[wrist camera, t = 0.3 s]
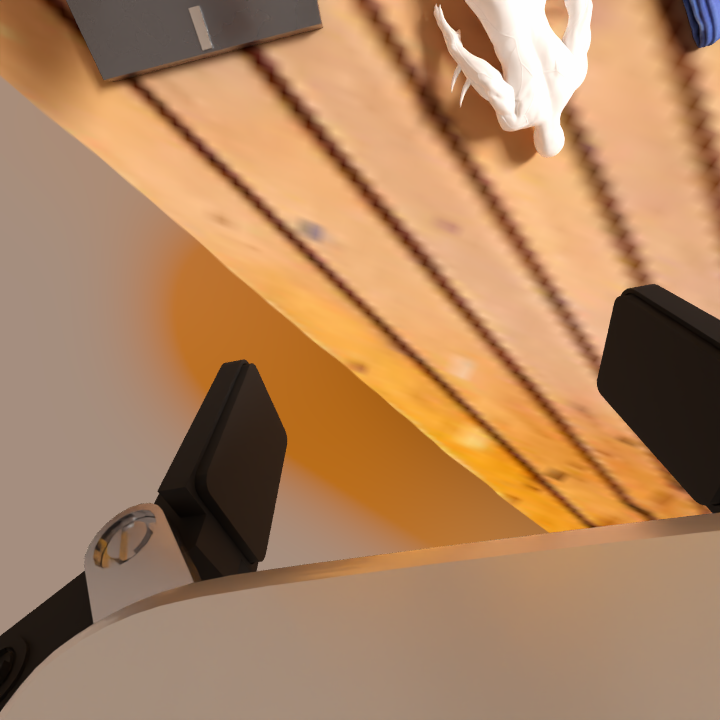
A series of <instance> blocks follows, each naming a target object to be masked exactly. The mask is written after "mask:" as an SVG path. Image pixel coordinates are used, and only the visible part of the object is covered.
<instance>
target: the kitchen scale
mask: <svg viewBox="0 0 720 720" xmlns="http://www.w3.org/2000/svg"><path fill="white" fill-rule="evenodd" d="M66 1H67V3H68V5H69V8H70V10H71V12H72V14H73V16H74V18H75V20H76V22H77V25H78V27H79V29H80V31H81V33H82V35H83V37H84V39H85V41H86V44H87V46H88V48H89V50H90V52H91V54H92V56H93V58H94V61H95V63H96V65H97V67H98V69H99V71H100V73H101V75H102V78H103V80H106V81H113V82H114V81H118V80H122V79H126V78H130V77H134V76H137V75H141V74H145V73H149V72H153V71H157V70H161V69H164V68H168V67H172V66H176V65H180V64H184V63H188V62H192V61H195V60H199V59H203V58H207V57H211V56H215V55H219V54H222V53H226V52H230V51H234V50H238V49H242V48H246V47H249V46H253V45H257V44H261V43H265V42H269V41H273V40H277V39H280V38H284V37H288V36H292V35H296V34H300V33H304V32H307V31H311V30H315V29H319V28H323V27H322V21H321V16H320V10H319V5H318V0H66Z"/></svg>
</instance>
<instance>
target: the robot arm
mask: <svg viewBox="0 0 720 720" xmlns="http://www.w3.org/2000/svg"><path fill="white" fill-rule="evenodd" d="M597 387H598V390H599V392H600V394H601V395H602V396H603V397H604V399H605V400H606V401H607V402H608V403H609V404H610V405H611V407H612V408H613V409H614V410H615V411H616V412H617V413H618V414H619V416H620V417H621V418H622V419H623V420H624V421H625V422H626V423H627V425H628V426H629V427H630V428H631V429H632V430H633V431H634V433H635V434H636V435H637V436H638V437H639V438H640V439H641V440H642V442H643V443H644V444H645V445H646V446H647V447H648V448H649V449H650V451H651V452H652V453H653V454H654V455H655V456H656V457H657V459H658V460H659V461H660V462H661V463H662V464H663V465H664V466H665V468H666V469H667V470H668V471H669V472H670V473H671V474H672V475H673V477H674V478H675V479H676V480H677V481H678V482H679V483H680V485H681V486H682V487H683V488H684V489H685V490H686V491H687V492H688V494H689V495H690V496H691V497H692V498H693V499H694V500H695V501H696V502H698V503H699V504H701V505H706V506H707V507H708V509H709V510H710V511H711V512H712V514H703V515H695V516H687V517H678V518H670V519H662V520H653V521H645V522H636V523H628V524H620V525H611V526H603V527H595V528H587V529H579V530H571V531H563V532H555V533H546V534H539V535H530V536H522V537H515V538H507V539H498V540H490V541H482V542H474V543H466V544H458V545H451V546H442V547H434V548H427V549H419V550H411V551H404V552H396V553H389V554H380V555H373V556H365V557H357V558H350V559H343V560H335V561H327V562H319V563H312V564H304V565H297V566H291V567H284V568H278V569H270V570H263V571H257V566H258V562H261V561H263V560H264V558H265V555H266V550H267V545H268V539H269V535H270V530H271V524H272V519H273V514H274V509H275V503H276V498H277V493H278V488H279V483H280V477H281V473H282V467H283V462H284V457H285V452H286V447H287V435H286V432H285V429H284V427H283V425H282V423H281V421H280V418H279V416H278V414H277V412H276V409H275V407H274V405H273V403H272V401H271V398H270V396H269V394H268V392H267V390H266V387H265V385H264V383H263V381H262V379H261V377H260V374H259V372H258V370H257V368H256V366H255V365H254V364H252V363H251V364H249V363H248V362H247V361H246V360H239V361H233V362H228V363H224V364H223V365H222V366H221V368H220V370H219V372H218V374H217V376H216V378H215V380H214V382H213V384H212V385H211V387H210V389H209V392H208V393H207V395H206V397H205V399H204V401H203V403H202V405H201V407H200V409H199V411H198V413H197V415H196V417H195V419H194V421H193V423H192V425H191V427H190V429H189V430H188V433H187V434H186V436H185V438H184V440H183V442H182V444H181V446H180V448H179V450H178V452H177V454H176V456H175V458H174V460H173V462H172V464H171V466H170V468H169V470H168V472H167V474H166V476H165V478H164V479H163V481H162V483H161V485H160V487H159V489H158V492H159V495H158V497H157V499H156V501H155V503H154V504H152V503H143V504H138V505H136V506H132V507H130V508H128V509H126V510H124V511H122V512H121V513H119V514H118V515H116V516H115V517H114V518H112V519H111V520H110V521H109V522H107V523H106V524H105V525H104V526H103V528H102V529H101V530H100V531H99V532H98V533H97V534H96V536H95V537H94V539H93V540H92V542H91V543H90V545H89V547H88V549H87V552H86V554H85V561H84V568H85V571H84V572H82V573H81V574H80V575H79V576H77V577H76V578H75V579H73V580H72V581H71V582H70V583H68V584H67V585H66V586H64V587H63V588H62V589H60V590H59V591H58V592H57V593H55V594H54V595H53V596H52V597H50V598H49V599H47V600H46V601H45V602H44V603H42V604H41V605H40V606H39V607H37V608H36V609H35V610H33V611H32V612H31V613H29V614H28V615H27V616H25V617H24V618H23V619H22V620H20V621H19V622H18V623H16V624H15V625H14V626H13V627H11V628H10V629H9V630H7V631H6V632H5V633H3V634H2V635H1V636H0V720H720V320H719V319H717V318H715V317H713V316H712V315H710V314H708V313H706V312H705V311H703V310H701V309H699V308H698V307H696V306H694V305H692V304H690V303H689V302H687V301H685V300H683V299H682V298H680V297H678V296H676V295H674V294H673V293H671V292H669V291H667V290H666V289H664V288H662V287H660V286H658V285H655V284H651V285H645V286H640V287H634V288H629V289H626V290H625V291H624V292H623V293H622V294H621V296H619V297H617V298H616V300H615V302H614V307H613V311H612V316H611V320H610V325H609V329H608V334H607V338H606V342H605V347H604V351H603V356H602V360H601V365H600V369H599V374H598V378H597ZM256 571H257V572H256Z"/></svg>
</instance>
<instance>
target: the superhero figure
mask: <svg viewBox="0 0 720 720" xmlns="http://www.w3.org/2000/svg"><path fill="white" fill-rule="evenodd" d="M465 2H466V3H467V4H468V6H469V7H470V8H471V9H472V11H473V12H474V13H475V14H476V16H477V17H478V18H479V20H480V21H481V23H482V25H483V27H484V29H485V31H486V32H487V34H488V36H489V39H490V41H491V42H492V43H493V45H494V51H495V53H496V56H497V58H498V59H499V61H500V63H501V66H502V70H503V78H504V80H503V78H502V76H501V74H500V73H499V72H498V71H497V70H496V69H495V68H494V67H492V66H491V65H490V64H489V63H488V62H487V61H485V60H483V59H481V58H479V57H476V56H474V55H472V54H471V53H469V52H468V51H467V50H466V49H465V48H463V45H462V43H461V42H460V41H461V31H460V29H458V30H457V32H456V31H454V30H453V29H452V28H451V27H450V26H449V25H448V23H447V22H446V20H445V18H444V16H443V13H442V9H441V4H440V6H439V8H438V7H437V3H436V5H435V7H434V9H435V10H434V16H435V18H436V20H437V25H438V26H439V28H440V30H441V31H442V33H443V36H444V40H445V43H446V45H447V48H448V51H449V53H450V55H451V56H452V57H453V59H454V60H455V61H456V62H457V64H458V65H457V67H456V69H455V72H454V75H453V78H452V84H451V93H452V90H453V86H454V83H455V81H456V79H457V77H458V75H459V73H460V72H461V70H462V71H463V73H464V75H465V76H466V78H467V80H466V82H465V84H464V86H463V89H462V92H461V97H460V107H461V103H462V100H463V98H464V95H465V93H466V91H467V89H468V88H469V86H470V85H472V86H473V87H474V89H475V90H476V91H477V92H478V93H479V94H480V95H481V96H482V97H483V98H484V99H486V100H487V101H489V102H490V104H491V105H492V107H493V108H494V110H495V111H496V116H497V119H498V122H499V124H500V126H501V128H502V129H503V130H505V131H516V130H520V129H525V128H528V127H533V126H535V130H534V145H535V148H536V150H537V152H538V153H539V154H540V155H541V156H543V157H553V156H555V155H556V154H558V153H559V152H560V150H561V149H562V148H563V145H564V134H563V130H562V128H561V127H560V115H561V112H562V110H563V108H564V107H565V105H566V104H567V102H568V101H569V99H570V98H571V96H572V94H573V93H574V91H575V90H576V89H577V88H578V87H579V86H580V85H581V84H582V82H583V81H584V79H585V76H586V73H587V67H588V65H587V55H586V53H587V51H588V49H589V46H590V41H591V31H590V20H591V15H592V1H591V0H564V2H565V6H566V8H567V11H568V14H569V19H568V26H567V28H566V30H565V33H564V35H563V38H562V41H561V40H560V39H559V38H558V37H557V36H556V35H555V34H554V32H553V31H552V29H551V27H550V26H549V23H548V21H547V18H546V16H545V11H544V8H545V3H546V0H465Z"/></svg>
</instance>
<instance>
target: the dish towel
mask: <svg viewBox="0 0 720 720" xmlns="http://www.w3.org/2000/svg"><path fill="white" fill-rule="evenodd" d="M683 3H684V6H685V9H686V12H687V16H688V19H689V22H690V26H691V29H692V34H693V38H694V40H695V42H696V44H697V46H698V47H699V48H701V47H705V46H710V45H712V44H713V43H715V42H716V41H717V40H718V39H720V0H683Z"/></svg>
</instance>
